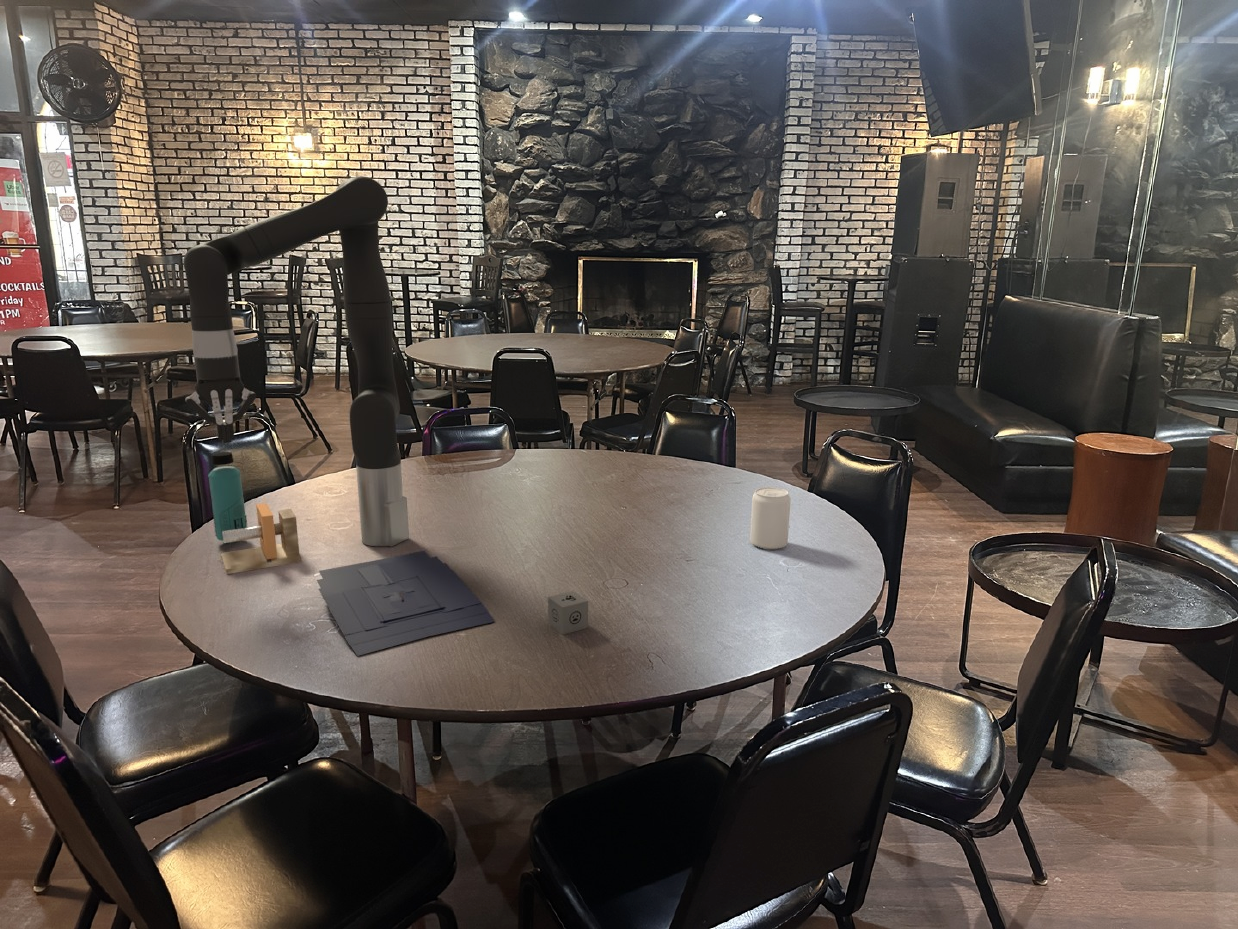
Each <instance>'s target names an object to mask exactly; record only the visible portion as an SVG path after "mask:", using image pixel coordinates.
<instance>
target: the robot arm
mask: <svg viewBox="0 0 1238 929" xmlns="http://www.w3.org/2000/svg"><path fill="white" fill-rule="evenodd" d="M387 194H388V193H387V191H386V190H385V188H384V187H383V186H382V184H381V183H379V182H378V181H377V180H375V179H373V178H370V177H368V176H362V175H361V176H359V175H358V176H353V177H351V178H347V179H345V180H343V181H342V182H340V183H339V185H338V186H337V188H336V189H335V190H334V191H332V192H331V193H329V194H328V195H326V196H324V197H323V198H320V199H318V200H316V201H313V202H311V203H309V204H306V205H303V206H301V207H298V208H295V209H292V210H288V211H285V212H282V213H279V214H275V215H272V216H269V217H267V218H263V219H261V220H259V221H256V222H253V223H251V224H248V225H245V226H244V227H241V228H238V229H236V230H235V231H234V232H232V233H231V232H230V234H228V235H224V236H221V237H218V238H215V239H212V240H209V241H206V242H203V243H200V244H198V245H195V246H193V247H191V248H189V249H188V250H187V251H186V253H185V254H184V258H183V260H182V261H183V262H182V263H183V269H184V273H185V278H186V284H187V289H188V295H189V300H190V303H189V314H190V315H189V316H190V324H191V330H192V331H191V332H192V336H191V337H192V340H191V341H192V342H191V343H192V352H193V358H194V367H195V373H196V385H195V388H194V390H195V391H194V392H193V393H192V394H191V395H189V396H186V397H185V403H186V404H187V405H188V406H189V407H190V408H191V409H192V411H195V413H197V414H198V415H199V416H200V417H201V418H202V419H203V420H204V421H206V423H209V424H210V423H212V424H215V426H216V434H217V438H218V440H219V441H222V444H230V443H232V440H234V439H235V431H234V422H236V421H238V420H239V421H241V420H242V419H243V418H244V416H245V414H246V413H247V412H248V410H249V409H250V407H251V406H252V404H253V403H254V401H255V400H256V398H257V394H256V393H255V392H254V391H250V390H249V389H247V388H245V384H244V383H243V382H242V380H241V373H240V372H241V371H240V365H239V354H238V352H239V350H238V346H237V340H236V337H235V332H234V324H233V318H232V317H233V316H232V309H231V305H230V302H229V280H228V279H229V278H228V277H229V276H230V275H232V274H234V273H237V272H238V271H241V270H243V269H245V268H248V267H249V268H251V267H255V266H259V265H260V264H262V263H265V262H269V261H271V260H273V259H274V258H277V257H280V256H282V255H285V254H286V253H289V252H291V251H293V250H296V249H297V248H300V247H302V246H304V245H305V244H309V243H310V242H313V241H314V240H317V239H320V238H322V237H325V236H327V235H329V234H333V233H335V232H339V236H340V241H341V249H342V284H343V285H342V286H343V288H342V289H343V302H344V303H343V304H344V305H343V306H344V315H345V316H344V317H345V326H346V328H347V333H348V337H349V341H350V344H351V347H352V349H353V352H354V355H355V360H356V363H357V364H356V366H357V372H358V373H357V374H358V375H357V376H358V378H357V379H358V391H357V393H358V394H357V396H356V397H355V398H354V399H353V401H352V403H351V405H350V408H349V425H350V435H351V436H350V437H351V445H352V446H351V447H352V452H353V454H354V458H355V469H356V481H357V493H358V494H357V495H358V507H359V508H358V509H359V520H360V521H359V524H360V531H361V532H360V533H361V542H362V544H363V545H367V546H369V547H370V546H371V547H394V546H396V545H397V544H400V543H402V542H404V541H406V540H408V539H410V529H409V528H410V527H409V526H410V525H409V512H408V511H409V510H408V508H409V507H408V499H407V496H404V495H403V494H404V492H403V476H402V474H403V473H402V459H401V458H402V457H401V455H402V454H401V450H400V449H399V446H398V437H397V423H396V422H397V420H398V418H399V416H400V413H401V412H400V411H401V406H400V399H399V394H398V388H397V382H396V378H395V373H394V371H395V370H394V361H393V354H394V352H393V351H394V350H393V348H394V347H393V346H394V345H393V344H394V343H393V342H394V341H393V339H394V338H393V337H394V336H393V335H394V334H393V314H392V313H393V312H392V309H393V308H392V300H391V290H390V287H389V282H388V279H387V275H386V274H387V273H386V272H385V268H384V264H383V262H382V258H381V253H380V246H379V221H380V220H382V219H383V217H384V215H385V214H386V212H387V210H388V207H389V206H388V204H389V198H388V195H387ZM241 395H242V396H241ZM240 396H241V399H242V402H241V403H240V404H239V406H238V407H237V408H236V410H235V411H234V412H233V407H234V406H233V405H235V404H236V403H237V401H238V399H239V398H240ZM199 397H200V398H201V399H202V400H203V401H204V402H205V403H206V404H207V405H208V406H210V407H211V408H212V411H213V412H212V413H213V415H212V414H211V413H209V412H208V411H207V410H205V408H203V406H201V405H200V404H201V400H200V399H199ZM222 406H223V412H224V413H223V414H224V416H223V414H222V409H221V407H222ZM223 417H224V419H223Z"/></svg>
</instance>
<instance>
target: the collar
mask: <svg viewBox="0 0 1238 929" xmlns="http://www.w3.org/2000/svg"><path fill="white" fill-rule="evenodd" d="M255 506H256V516H257V526H260V525H261V524H262V532H263V539H262V537H261V538H259V542H260V547H262V550H263V552H264V554H265V557H266V559H273V558H277V549H276V544H277V542H276V540H277V539H276V535H275V529H274V524H275V519H274V515H273V512H272V511H271V508H270V507H269V505H268V503H267V502H264V503H257V504H255Z"/></svg>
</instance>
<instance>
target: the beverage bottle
mask: <svg viewBox="0 0 1238 929" xmlns="http://www.w3.org/2000/svg"><path fill="white" fill-rule="evenodd" d="M234 462H235V461H234V456H233V453H232V452H231V451H218V452H214V453H212V455H211V464H212V465H215V466H217V467H215V468H213V469H212V470H211V471H210V472H209V473H208V475H207V476H208V480H209V490H210V496H211V497H210V498H211V510H212V519H213V520H212V521H213V526H214V534H215V537H216V539H217V540H218V541H222V542H224V541H223V533H222V531H227V530H234V529H241V528H248V520H247V515H246V506H245V501H244V500H245V496H244V489H243V484H242V476H241V471H240V470H239V469H238V468H237V467H235V466H229V465H230V464H232V463H234ZM225 465H226V466H225Z"/></svg>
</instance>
